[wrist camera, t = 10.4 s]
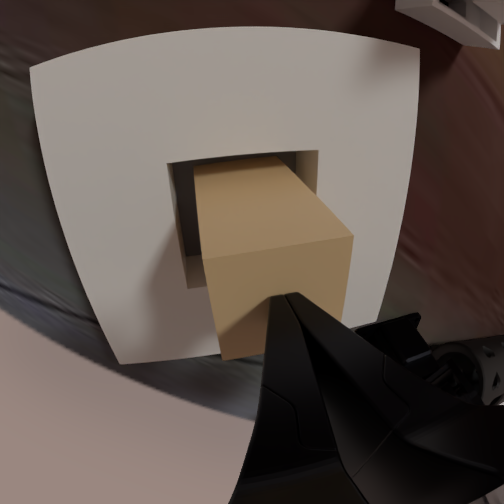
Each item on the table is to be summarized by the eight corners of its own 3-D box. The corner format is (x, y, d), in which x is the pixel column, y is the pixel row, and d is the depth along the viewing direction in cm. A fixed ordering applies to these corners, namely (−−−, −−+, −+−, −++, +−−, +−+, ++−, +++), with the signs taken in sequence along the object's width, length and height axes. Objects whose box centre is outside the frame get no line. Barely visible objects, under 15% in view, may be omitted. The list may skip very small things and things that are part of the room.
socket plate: (356, 292, 21) (375, 321, 19) (124, 329, 19) (120, 364, 16) (383, 48, 13) (419, 48, 10) (57, 66, 10) (29, 67, 8)
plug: (278, 227, 17) (338, 336, 10) (203, 238, 16) (222, 360, 10) (276, 155, 15) (353, 235, 8) (193, 166, 14) (202, 259, 8)
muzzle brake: (447, 314, 26) (504, 388, 18) (528, 313, 35) (562, 353, 27) (399, 376, 31) (439, 447, 22) (497, 355, 40) (526, 395, 31)
